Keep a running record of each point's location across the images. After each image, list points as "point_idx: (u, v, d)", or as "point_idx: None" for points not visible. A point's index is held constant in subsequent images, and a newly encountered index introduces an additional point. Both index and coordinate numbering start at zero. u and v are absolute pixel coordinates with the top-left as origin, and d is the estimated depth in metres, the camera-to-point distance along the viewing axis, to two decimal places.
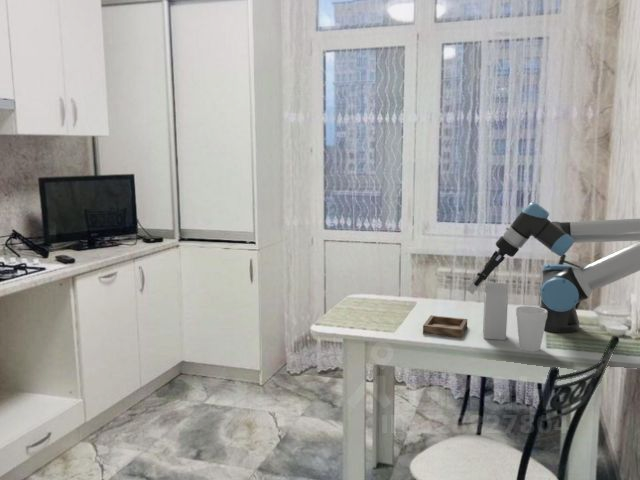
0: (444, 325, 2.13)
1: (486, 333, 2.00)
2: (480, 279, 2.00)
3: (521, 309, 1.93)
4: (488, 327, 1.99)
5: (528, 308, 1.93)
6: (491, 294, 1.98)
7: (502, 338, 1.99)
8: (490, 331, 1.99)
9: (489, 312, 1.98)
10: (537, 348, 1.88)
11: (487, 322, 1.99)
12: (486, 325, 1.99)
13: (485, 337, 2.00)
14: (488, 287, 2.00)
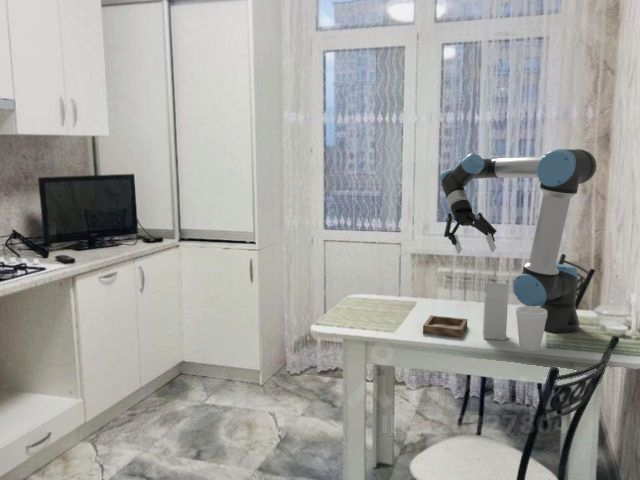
0: (444, 325, 2.13)
1: (486, 333, 2.00)
2: (451, 237, 2.14)
3: (521, 309, 1.93)
4: (488, 327, 1.99)
5: (528, 308, 1.93)
6: (491, 294, 1.98)
7: (502, 338, 1.99)
8: (490, 331, 1.99)
9: (489, 312, 1.98)
10: (537, 348, 1.88)
11: (487, 322, 1.99)
12: (486, 325, 1.99)
13: (485, 337, 2.00)
14: (488, 287, 2.00)
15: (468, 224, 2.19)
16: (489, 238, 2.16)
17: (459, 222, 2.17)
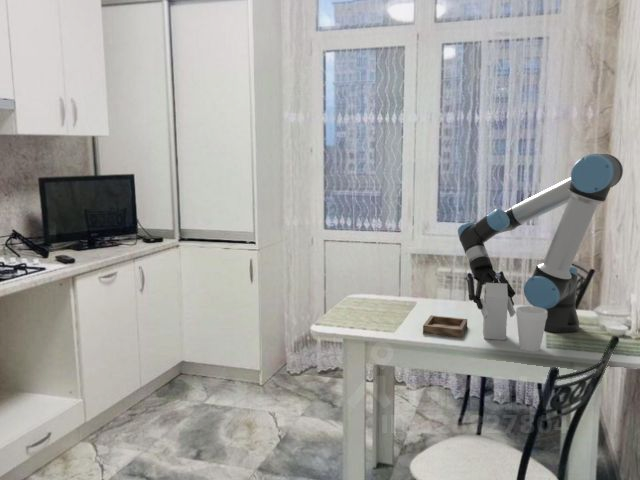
0: (444, 325, 2.13)
1: (486, 333, 2.00)
2: (476, 301, 2.01)
3: (521, 309, 1.93)
4: (488, 327, 1.99)
5: (528, 308, 1.93)
6: (491, 294, 1.98)
7: (502, 338, 1.99)
8: (490, 331, 1.99)
9: (489, 312, 1.98)
10: (537, 348, 1.88)
11: (487, 322, 1.99)
12: (486, 325, 1.99)
13: (485, 337, 2.00)
14: (488, 287, 2.00)
15: None
16: (508, 302, 2.02)
17: (481, 282, 2.04)
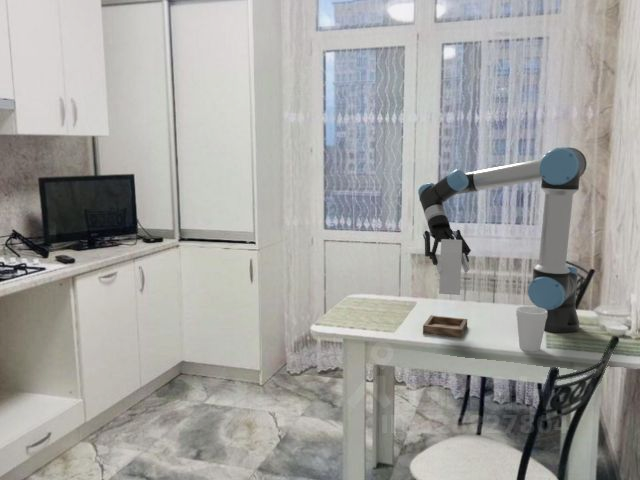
0: (444, 325, 2.13)
1: (441, 288, 2.05)
2: (432, 257, 2.05)
3: (521, 309, 1.93)
4: (443, 282, 2.04)
5: (528, 308, 1.93)
6: (446, 250, 2.03)
7: (456, 293, 2.04)
8: (444, 286, 2.04)
9: (443, 267, 2.03)
10: (537, 348, 1.88)
11: (442, 277, 2.04)
12: (441, 280, 2.04)
13: (440, 292, 2.05)
14: (443, 243, 2.05)
15: None
16: (463, 258, 2.06)
17: (437, 239, 2.09)
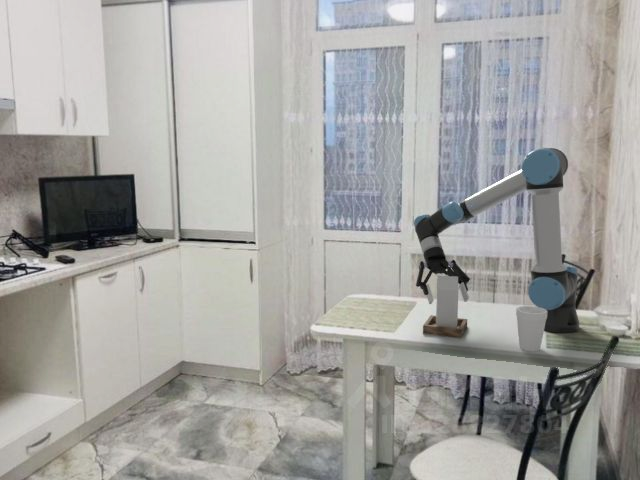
0: None
1: (438, 324, 2.07)
2: (422, 287, 2.08)
3: (521, 309, 1.93)
4: (440, 318, 2.06)
5: (528, 308, 1.93)
6: (442, 287, 2.05)
7: None
8: (442, 322, 2.07)
9: (440, 304, 2.06)
10: (537, 348, 1.88)
11: (439, 314, 2.06)
12: (438, 317, 2.06)
13: None
14: (440, 280, 2.07)
15: (441, 272, 2.13)
16: (462, 287, 2.10)
17: (431, 271, 2.11)
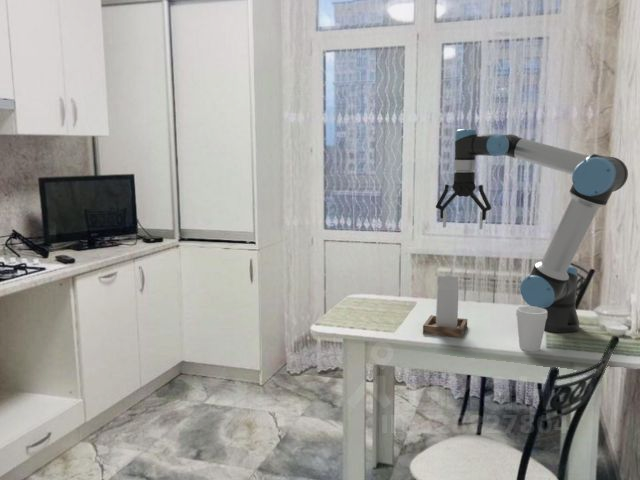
0: None
1: (438, 324, 2.07)
2: None
3: (521, 309, 1.93)
4: (440, 318, 2.06)
5: (528, 308, 1.93)
6: (442, 287, 2.05)
7: None
8: (442, 322, 2.07)
9: (440, 304, 2.06)
10: (537, 348, 1.88)
11: (439, 314, 2.06)
12: (438, 317, 2.06)
13: None
14: (440, 280, 2.07)
15: None
16: (480, 216, 2.18)
17: (453, 196, 2.19)
